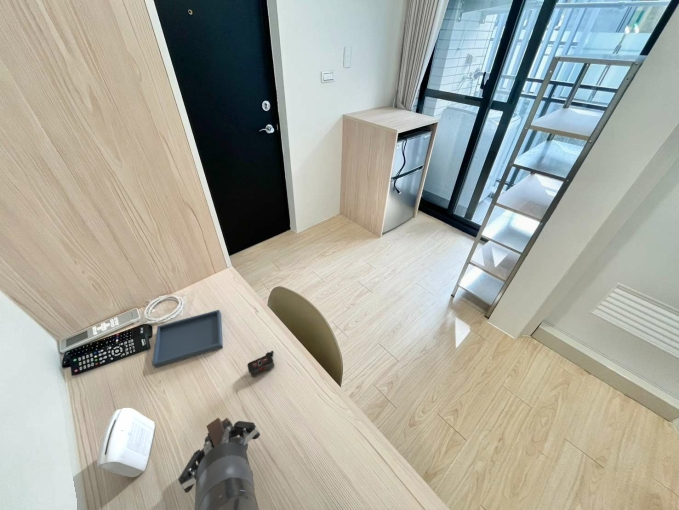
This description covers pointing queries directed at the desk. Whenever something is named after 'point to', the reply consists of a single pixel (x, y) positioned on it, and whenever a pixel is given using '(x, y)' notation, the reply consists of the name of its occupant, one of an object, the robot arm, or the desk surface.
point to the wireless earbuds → (261, 364)
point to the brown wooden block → (216, 431)
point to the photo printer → (126, 443)
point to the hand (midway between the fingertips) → (219, 430)
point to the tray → (187, 338)
